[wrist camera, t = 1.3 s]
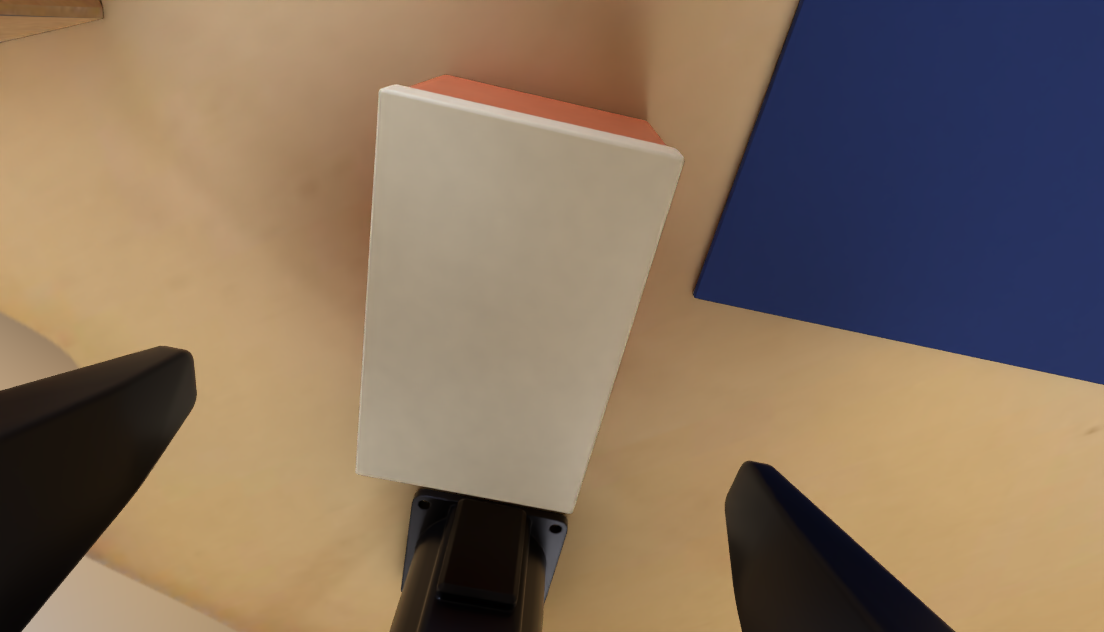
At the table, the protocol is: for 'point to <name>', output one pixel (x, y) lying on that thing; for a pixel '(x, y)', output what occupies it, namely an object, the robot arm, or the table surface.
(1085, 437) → the table surface
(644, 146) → the box
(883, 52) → the blue cloth
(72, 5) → the sandwich container
